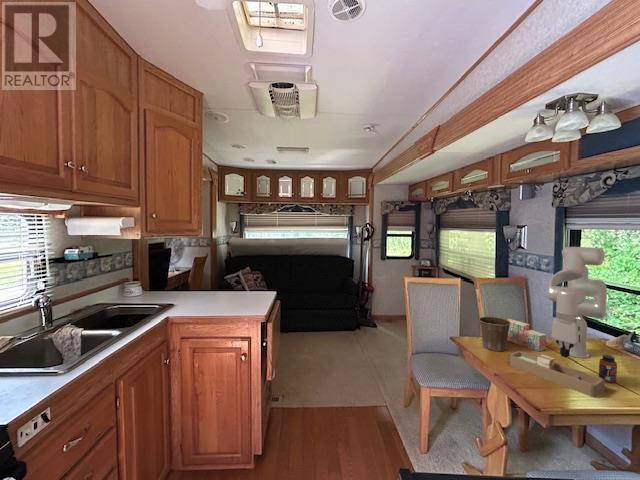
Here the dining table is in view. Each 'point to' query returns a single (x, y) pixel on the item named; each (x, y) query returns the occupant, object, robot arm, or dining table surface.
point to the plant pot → (494, 333)
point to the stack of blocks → (526, 336)
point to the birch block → (545, 361)
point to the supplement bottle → (608, 368)
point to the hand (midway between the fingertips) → (564, 356)
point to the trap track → (558, 374)
